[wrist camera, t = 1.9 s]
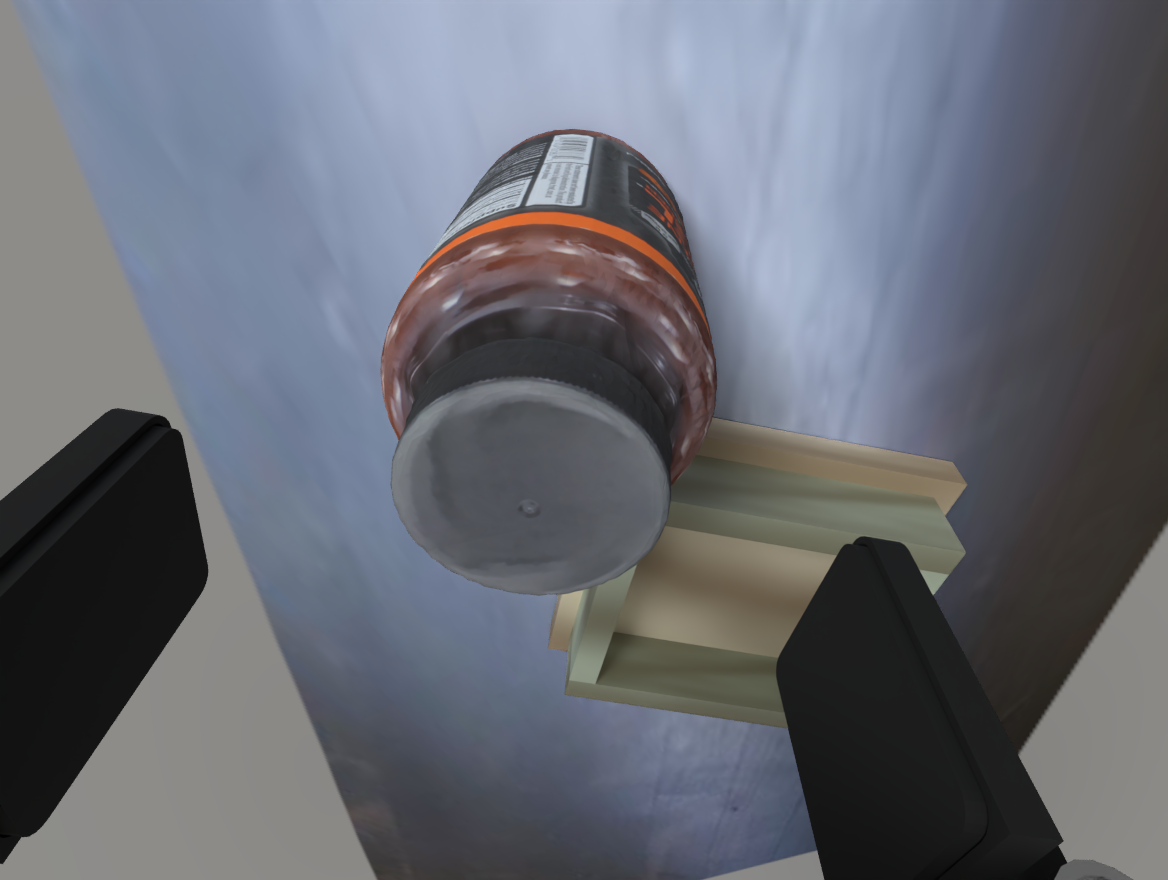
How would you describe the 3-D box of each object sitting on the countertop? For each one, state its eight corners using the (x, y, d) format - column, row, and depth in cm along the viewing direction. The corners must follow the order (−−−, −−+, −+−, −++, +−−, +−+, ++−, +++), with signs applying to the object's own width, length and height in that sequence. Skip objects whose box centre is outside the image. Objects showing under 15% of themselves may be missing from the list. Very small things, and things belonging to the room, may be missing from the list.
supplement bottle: (712, 288, 19) (798, 590, 10) (532, 361, 21) (463, 676, 12) (632, 76, 16) (648, 231, 7) (427, 183, 18) (220, 422, 8)
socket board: (608, 398, 21) (606, 469, 18) (952, 461, 22) (1003, 539, 19) (550, 625, 28) (542, 702, 25) (813, 666, 29) (835, 746, 26)
